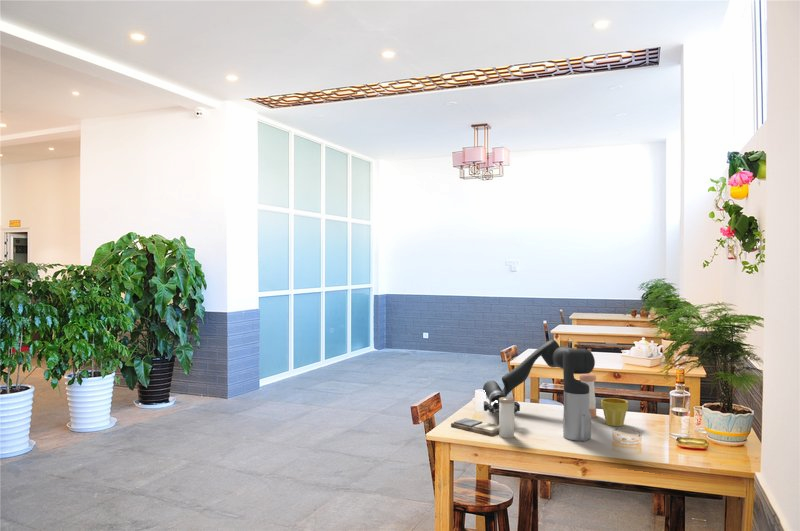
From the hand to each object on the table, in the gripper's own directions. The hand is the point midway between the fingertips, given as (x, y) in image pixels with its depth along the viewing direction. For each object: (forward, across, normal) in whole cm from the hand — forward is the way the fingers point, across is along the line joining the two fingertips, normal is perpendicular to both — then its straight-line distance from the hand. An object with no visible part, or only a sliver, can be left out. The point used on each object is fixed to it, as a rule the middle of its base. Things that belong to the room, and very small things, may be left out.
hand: (503, 410), depth 227 cm
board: (-2, +10, -7) cm, 12 cm away
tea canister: (+8, 0, -8) cm, 11 cm away
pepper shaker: (-25, -39, -8) cm, 47 cm away
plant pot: (-12, -47, -8) cm, 49 cm away
